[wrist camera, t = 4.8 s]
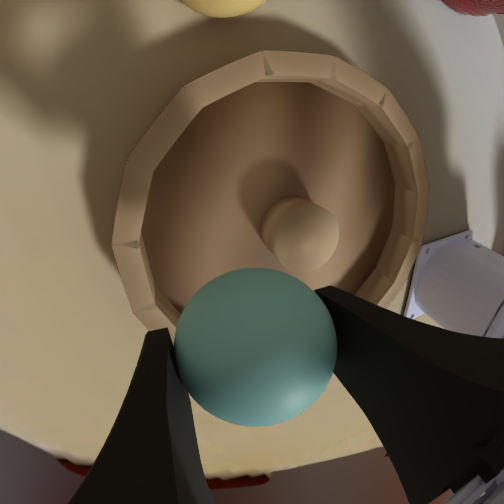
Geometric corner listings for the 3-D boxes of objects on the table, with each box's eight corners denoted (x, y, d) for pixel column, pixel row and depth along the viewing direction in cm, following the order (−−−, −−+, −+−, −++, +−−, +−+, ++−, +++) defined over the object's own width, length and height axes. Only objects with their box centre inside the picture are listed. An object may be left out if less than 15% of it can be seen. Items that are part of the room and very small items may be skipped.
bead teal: (297, 232, 10) (388, 307, 6) (293, 337, 12) (350, 422, 8) (155, 256, 9) (163, 368, 5) (181, 363, 10) (206, 468, 7)
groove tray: (399, 77, 15) (430, 76, 13) (384, 306, 23) (404, 323, 21) (95, 83, 11) (82, 73, 8) (166, 372, 19) (171, 403, 16)
